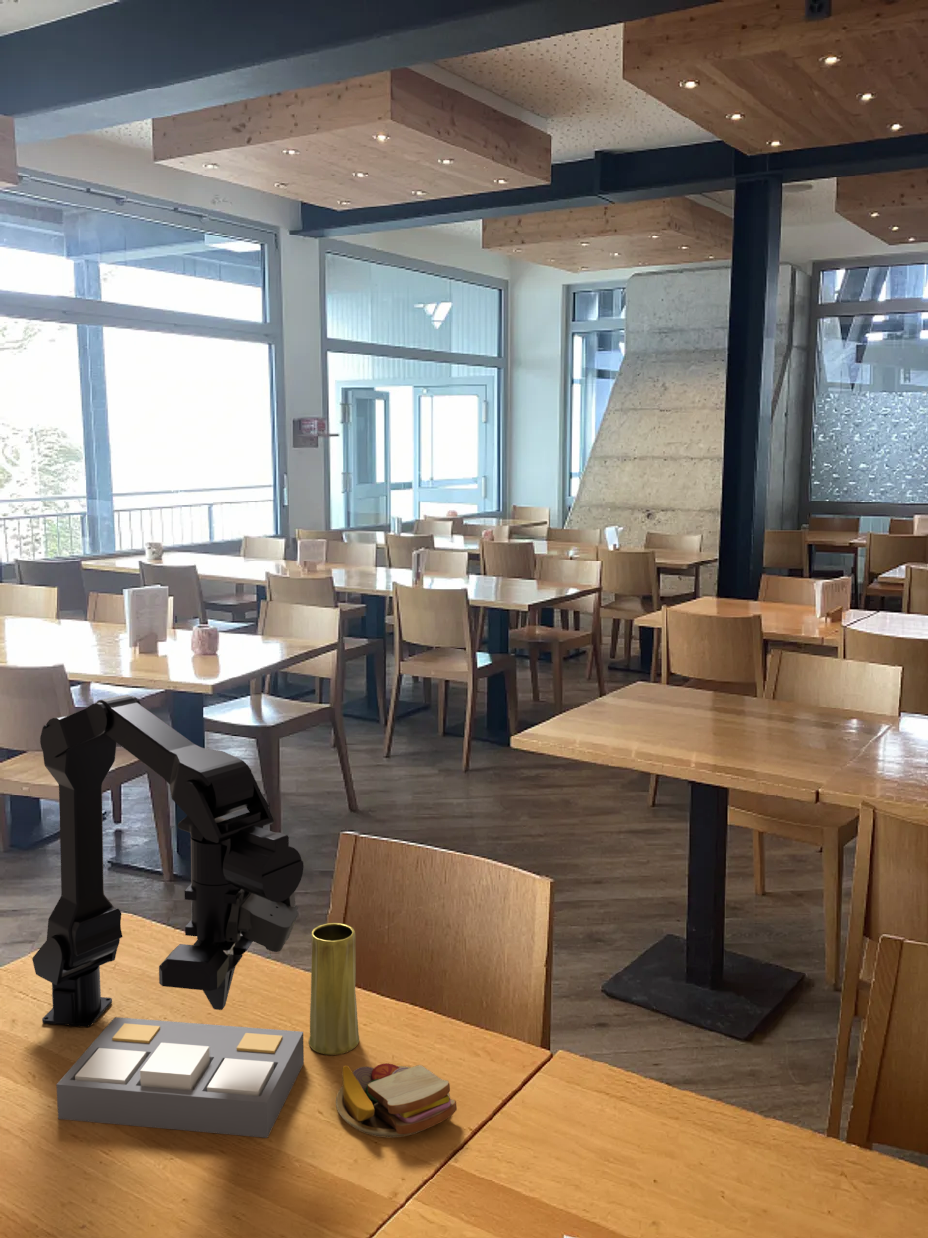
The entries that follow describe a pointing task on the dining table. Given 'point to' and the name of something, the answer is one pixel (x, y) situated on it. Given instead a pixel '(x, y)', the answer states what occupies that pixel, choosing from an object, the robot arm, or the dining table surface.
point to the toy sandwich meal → (393, 1099)
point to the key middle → (175, 1066)
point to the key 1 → (111, 1066)
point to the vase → (333, 990)
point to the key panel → (186, 1105)
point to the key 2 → (241, 1077)
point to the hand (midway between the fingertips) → (219, 1008)
